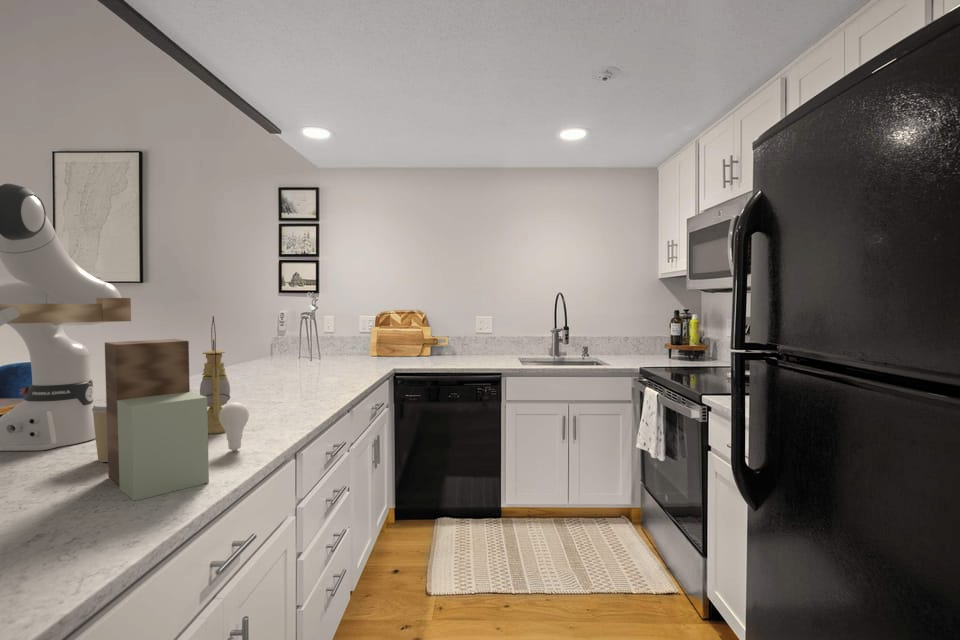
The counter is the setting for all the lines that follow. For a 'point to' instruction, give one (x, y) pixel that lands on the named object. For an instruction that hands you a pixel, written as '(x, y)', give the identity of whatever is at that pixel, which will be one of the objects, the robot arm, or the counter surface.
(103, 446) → the coffee cup
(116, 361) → the walnut shelf
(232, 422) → the lightbulb
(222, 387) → the lantern
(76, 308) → the beech mallet
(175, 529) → the counter surface
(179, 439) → the sage step
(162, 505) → the counter surface
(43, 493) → the counter surface
